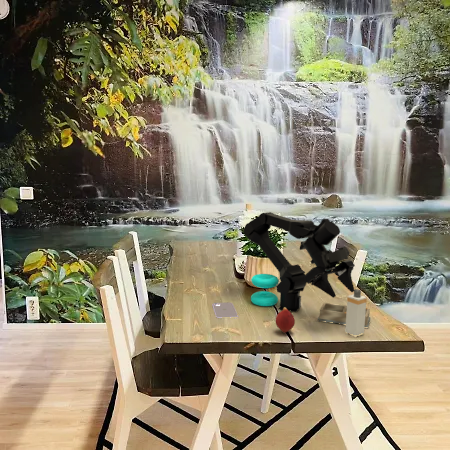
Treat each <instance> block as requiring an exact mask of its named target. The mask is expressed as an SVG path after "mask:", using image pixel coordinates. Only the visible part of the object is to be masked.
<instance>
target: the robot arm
mask: <svg viewBox="0 0 450 450" xmlns="http://www.w3.org/2000/svg"><path fill="white" fill-rule="evenodd" d="M271 227H274V228H277V229H281V230H283V231H286V232H288V233H289V235H290V236H292V237H293V238H295V239H297V240H301V239H305V241H300V246H299V250H300V251H303V250H305V251H306V252H307V253H308V255H309V257H310V258H311V260H310V263H311V265H315V267H314V266H313V267H312V268H310V270H309V271H308V272H305V270H303V269H302V267H301V265H299V264H293V265H292V264H291V263H290V261H289V260H288V259H287V258H286V256H285V255H284V254H283V253H282V251H281V250H280V249H279V248H278V246H277V245H276V244H275V242H273V240H272V239H271V238H270V231H269V230H270V229H271ZM243 233H244V236H245V237H246V238H247V239H248V240H249V241H250V242H252V243H253V244H256V245H257V246H259V248H260V249H261V250H262V251H263V253H264V254H265V256H266V257H267V258H268V259H269V261H270V262H271V263H272V264H273V266H274V267H275V268H276V270H277V271H278V272H279V280H280V281H279V283H278V284H277V285H276V286H275V287H276V291H277V293H279V294H280V296H279V298H280V299H279V302H280V303H279V307H278V310H279V309H280V311H283V308H284V307H285V308H286V309H287V310H288V311H290V312H291V313H292V312H294V313H297V312H298V310H299V309H301V307H302V296H301V294H300V292H303V291H304V290H305V287H306V285H307V284H308V285H309V284H310V285H311V286H314V287H316V288H317V289H320V290H322V292H324V293H326V294H327V295H328V296H330V297H331V298H333V299H334V298H336V297H337V296H336V295H337V294H336V292H335V290H334V289H333V286H332V285H331V283H330V281H329V278H328V277H329V275H333V274H335V276H337V279H338V280H339V282H340V283H342V285H343V286H344V287H346V288H347V290H348V291H350V292H351V293H354V290H355V287H354V284H353V283H354V282H353V277H352V273H353V272H352V271H353V270H354V267H356V266H355V263H354V262H353V261H352V260H350V259H349V257H348V256H350V251H349V248H347V247H346V246H341V247H338V249H337V250H334V251H332V250H331V249H327V248H326V246H329V245H330V243H332V242H333V241H334V240H335V239H336V238H337V237H338V236H339V235H340V233H341V229H340V227H339V226H338V225H336V224H335V222H332V221H331V220H330V219H329V218H323V219H322V220H321V221H320V222H319V224H318V225H317V224H315V222H314V221H312V220H308V219H307V220H306V219H305V220H304V219H293V218H288V217H286V216H283V215H279V214H277V213H274V212H272V211H269V212H262V213H260V214H259V215H258V216H257V217H255V218H254V219H252V220H250V221H249V222H247V223H246V224H245V225H244V228H243ZM342 260H343V261H342Z"/></svg>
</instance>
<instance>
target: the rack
mask: <svg viewBox="0 0 450 450" xmlns="http://www.w3.org/2000/svg"><path fill="white" fill-rule="evenodd" d="M370 311H371V310H370V308H368V307H366V313H365V326H364V327H368V326H369V327H370V323H369V322H371V316H370ZM346 312H347V305H343V304H337V303H330V302H323V303H322V305H321V307H320V308H319V316H318V317H317V321H318V320H319V321H318V322H321V321H326V322H325V323H327V322H333V323H340V324H346ZM333 323H332V324H333ZM340 324H339V325H340ZM369 327H368V328H369Z"/></svg>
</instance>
